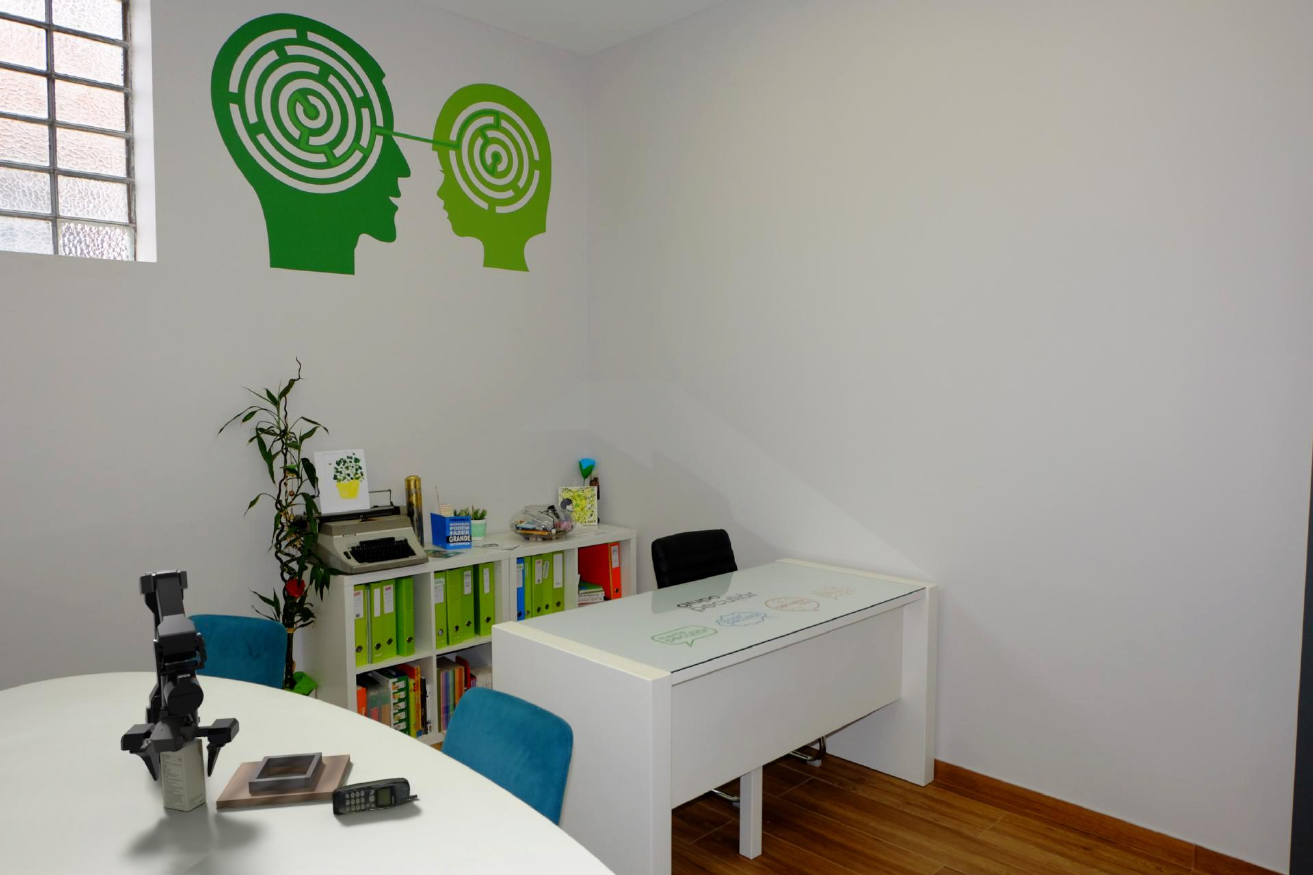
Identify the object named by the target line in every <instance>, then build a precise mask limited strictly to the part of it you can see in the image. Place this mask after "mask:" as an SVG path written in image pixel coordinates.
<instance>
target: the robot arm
mask: <svg viewBox="0 0 1313 875" xmlns="http://www.w3.org/2000/svg"><path fill="white" fill-rule="evenodd" d="M144 573H145V574H144V575H142V576H139V578H138V590H139V596H142V597H143V603H144V604H145V605H146V607H147V608H148V609H149V610H150V612H151V613H152V616H153V618H152V620H153V635H154V638H153V640H152V649H153V650H152V653H153V660H154V667H155V668H154V669H155V675H156V679H155V680H156V683H155V685H154V687H153V688H152V690H151V691H150V693H149V696H148V706H145V714H144V715H145V716H144V720H145V721H144V722H145V723H140V724H139V723H136V724H133V725H132V726H131V727H130V728H129V729H127V731H126V732H125V733H124V734H123V735H122V736H121V737H120V738H121V739H120V750H121V751H123V752H125V751H127V752H128V753H129V754H130V755H136V756H138V757H140V758H141V760H142V761H143V763H144V764H145V765H146V767H147V771H148V772H149V774H150V776H151V777H152V779H153V781H154V782H157V781H158V780H159V778H160V764H161V760H160V753H161V752H169V751H171V752H177V751H179V750H181V749H182V747H183V744H185V743H186V742H191V741H194V739H195V738H206V739H207V742H208V744H207V745H206V747H205V748H206V750H207V764H206V767H207V768H206V773H207V777H208V778H211V776H212V775H213V772H214V769H215V766H216V763H217V761H218V758H219V755H220V752H221V749H222V748H223V747H225V746H227V744H230V743H232V742H233V740H234V739H235V737H236V736H237V735H238V734H239V732H240V722H239V720H238V719H237V718H236V717H229V718H226V717H225V718H216V719H215V720H214V721H213V723H212V724H211V725H204V726H203V725H202V726H199V725H200V723H201V716H199V708H200V707H201V705H202V704H203V702H204V699H205V698H204V696H205V695H204V694H205V693H204V690H203V688H202V686H201V684H200V681H199V680H198V678H197V670H204V669H206V668H205V666H206V665H205V663H207V662H208V655H207V648H206V644H205V638H204V637H203V636H202V633H201V632H197V628H196V624H195V622H194V621H193V620H192V619H189V618H187V617H186V616H187V615H186V612H185V606H184V602H183V601H184V594H185V592H184V591H185V590H188V589H189V584H188V583H189V581H188V572H187V570H180V569H179V567H178V568H172V569H162V570H153V571H146V572H144ZM197 657H198V659H197ZM194 659H195V660H194Z"/></svg>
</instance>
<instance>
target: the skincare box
mask: <svg viewBox="0 0 1313 875" xmlns="http://www.w3.org/2000/svg"><path fill="white" fill-rule="evenodd" d="M203 749H204V748H203V739H202V738H200V737H198V738H195V739H194V741H191V742H186V743H185V744H183V747H182V749H181V750H179V751H177V752H171V751H169V752H161V753H160V760H161V763H160V772H161V773H160V774H161V785H162V800H163V804H162V805H163V807H164V808H167V809H172V810H179V811H184V812H189V811H191V810H192V809H194V808H196V807H199V805H202V804H203V803H205V802H207V794H206V792H207V791H206V780H205V764H204V750H203Z"/></svg>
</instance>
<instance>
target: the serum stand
mask: <svg viewBox="0 0 1313 875" xmlns="http://www.w3.org/2000/svg"><path fill="white" fill-rule="evenodd" d="M350 763H351V754H348V753H347V754H336V755H323V752H322V751H319V752H308V753H307V752H306V753H292V754H281V755H280V754H278V755H267V756H266V755H265V756H263V758H262V759H261V760H259V761H256V760H255V761H246V762H245V761H243V762H241V763H240V764H239V766H238V767H237V769H236V770H235V772H234V773H233V775H232V776H231V777H230V779H229V781H228V783H227V784H226V786H225V787H224V789H223V790H222V792H221V793H220V794H219V796H218V798H217V799H216V801H215V804H216V808H215V809H216V810H222V809H230V808H232V809H233V808H243V807H244V808H246V807H256V806H257V807H258V806H269V805H270V806H271V805H281V804H291V803H306V802H316V801H329V800H332V792H333V791H334V790H335V789H337V788H339V787H342V783H343V781H344V779H343V778H345V776H346V774H347V771H348V768H349V766H350ZM289 773H290V774H298V773H299V774H301V773H305V775H294V776H293V775H292V776H291V775H290V774H289ZM287 774H289V775H290V776H281V777H278V776H277V777H269V776H274V775H275V776H276V775H287Z"/></svg>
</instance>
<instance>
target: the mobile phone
mask: <svg viewBox="0 0 1313 875" xmlns="http://www.w3.org/2000/svg"><path fill="white" fill-rule="evenodd" d="M409 799H410V800H415V799H418V794H413V795H411V786H410V782H409V780H408V778H405V777H391V778H390V777H389V778H382V779H376V780H372V781H365V782H356V783H353V784H347V785H343V786H342V785H341V786H340V787H339V788H337V789H335V790H334V791H333V792H332V799H331V801H332V802H331V803H332V814H333V815H334V816H341V815H342V814H343V815H349V814H354V812H355V813H361V812H367V811H366V810H368V811H371V810H370V809H375V810H381V809H380V808H384V809H388V808H387V807H390V808H394V807H396V806H398V805H401V804H403V803H406V802H407V801H410V800H409ZM360 811H361V812H360Z"/></svg>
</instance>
